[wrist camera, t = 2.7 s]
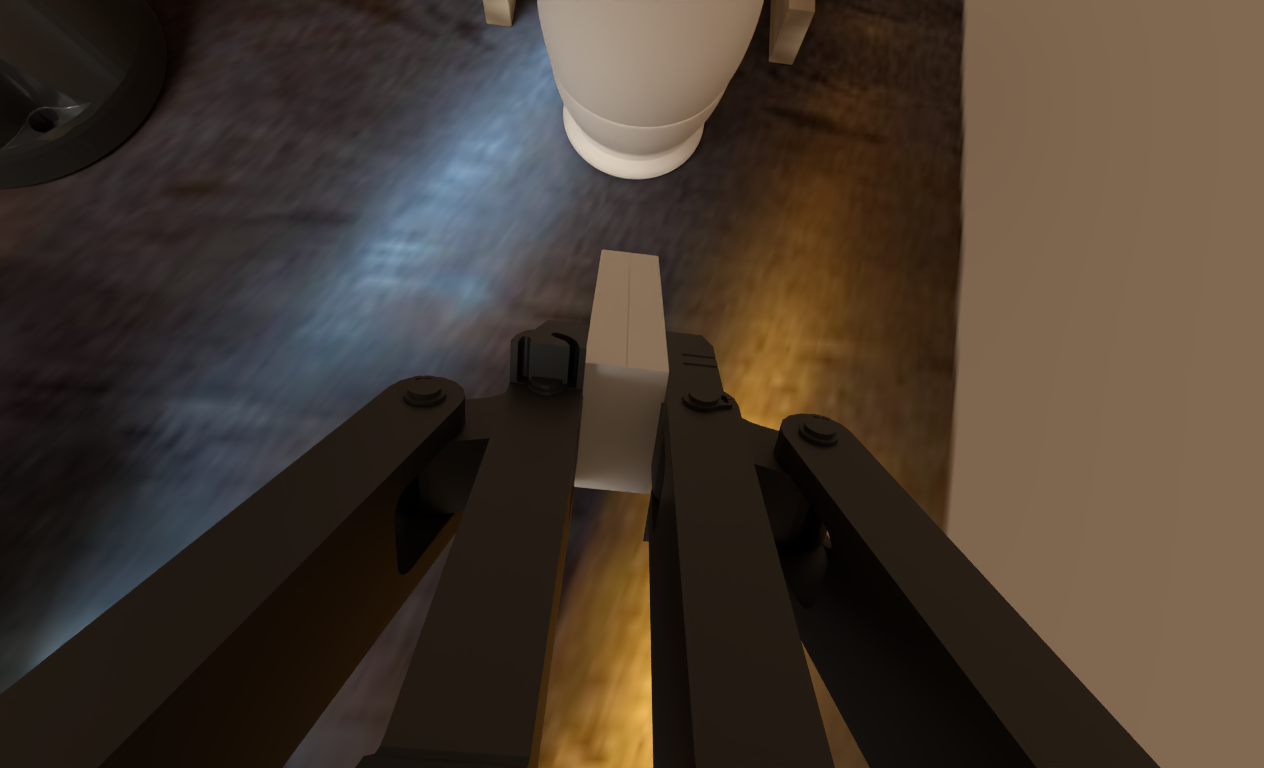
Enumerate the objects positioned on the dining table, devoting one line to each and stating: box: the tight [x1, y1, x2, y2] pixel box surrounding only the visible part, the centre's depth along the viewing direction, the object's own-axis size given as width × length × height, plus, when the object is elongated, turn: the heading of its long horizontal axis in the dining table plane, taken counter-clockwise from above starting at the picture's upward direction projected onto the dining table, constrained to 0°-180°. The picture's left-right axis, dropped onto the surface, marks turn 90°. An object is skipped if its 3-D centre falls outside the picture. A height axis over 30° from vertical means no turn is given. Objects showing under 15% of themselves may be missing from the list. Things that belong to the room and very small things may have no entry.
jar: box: [537, 0, 764, 179], centre depth 31 cm, size 11×10×15 cm
